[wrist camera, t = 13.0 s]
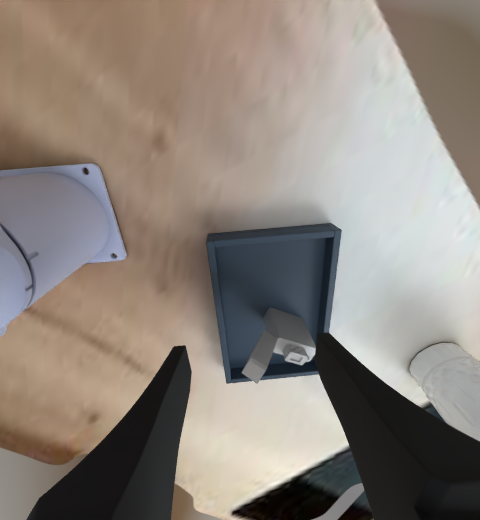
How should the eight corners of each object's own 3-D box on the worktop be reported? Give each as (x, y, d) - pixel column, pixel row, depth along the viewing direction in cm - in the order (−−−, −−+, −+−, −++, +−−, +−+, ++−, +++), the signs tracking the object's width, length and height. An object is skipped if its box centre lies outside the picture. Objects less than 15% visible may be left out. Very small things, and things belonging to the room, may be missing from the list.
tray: (226, 368, 28) (226, 383, 26) (207, 233, 20) (206, 241, 18) (317, 359, 28) (324, 374, 26) (331, 223, 21) (341, 229, 19)
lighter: (303, 318, 24) (337, 387, 17) (296, 330, 25) (324, 401, 18) (243, 298, 23) (251, 365, 16) (236, 311, 23) (241, 381, 16)
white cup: (396, 357, 28) (476, 451, 19) (460, 327, 27) (579, 415, 18) (413, 390, 31) (488, 485, 22) (471, 365, 30) (578, 457, 21)
